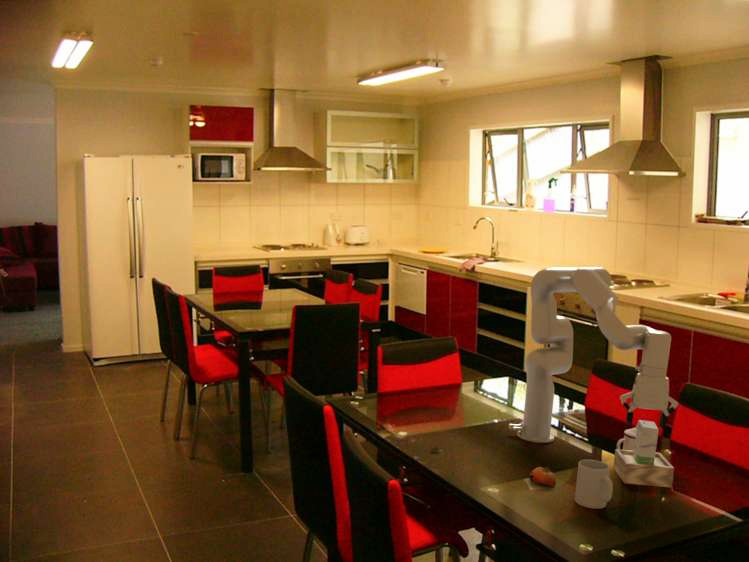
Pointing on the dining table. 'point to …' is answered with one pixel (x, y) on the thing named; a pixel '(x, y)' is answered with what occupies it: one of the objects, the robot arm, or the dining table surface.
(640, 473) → the tray
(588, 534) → the dining table surface
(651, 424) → the ink box
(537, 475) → the tomato
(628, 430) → the teacup with lid
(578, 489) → the mug
